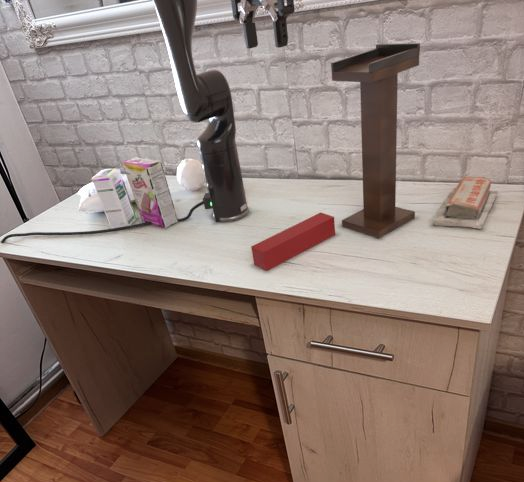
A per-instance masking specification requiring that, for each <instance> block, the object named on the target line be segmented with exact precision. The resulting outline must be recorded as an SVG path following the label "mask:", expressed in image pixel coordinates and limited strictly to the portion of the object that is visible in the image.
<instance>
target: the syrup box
mask: <svg viewBox="0 0 524 482" xmlns="http://www.w3.org/2000/svg"><path fill="white" fill-rule="evenodd" d="M122 175H123V174H122V172H121V169H120V168H119V167H118V168H117V167H112V168H104V169H101V170H99V172H97V173H96V174H95V175H94V176H92V177H91V178H90V179H91V181H92V182H93V184H94V187H95V189H96V192H97V194H98V197H99V199H100V202H101V204H102V207H103V209H104V214H105V216H106V219H107V221H108V224H109V227H110V229H113V228H119V227H125V226H130V225H133V223H134V222H135V221H136V220H137V219H138V218H137V214H136V212H135V211H136V210H135V209H134V206H133V203H131V200H130V197H129V195H128V192H127V189H126V186H125V183H124V181H123V178H122ZM92 182H91V183H92Z"/></svg>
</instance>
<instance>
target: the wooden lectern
mask: <svg viewBox="0 0 524 482" xmlns="http://www.w3.org/2000/svg"><path fill="white" fill-rule="evenodd" d="M420 51H421V43H420V42H410V43H408V42H407V43H406V42H405V43H377V44H375V48H373V49H369V50H365V51H363V52H361V53H357V54H353V55H351V56H348V57H345V58H342V59H339V60H336V61H333V62H330V67H331V68H330V71H331V81H332V82H346V83H347V82H349V83H359V84H360V85H359V87H360V89H359V90H360V93H359V94H360V127H361V128H360V129H361V132H360V133H361V165H362V166H361V171H362V202H363V203H362V205H363V208H362V209H361V210H359V211H356V212H355V213H353V214H351V215H348V216H347V217H345V218H343V219H341V227H342V228H345V229H349V230H352V231H354V232H357V233H360V234H363V235H366V236H369V237H372V238H375V239H378V240H379V239H381V238H382V237H384V236H386V235H388V234H389V233H391V232H393V231H395V230H397V229H398V228H400V227H402V226H404V225H405V224H407V223H409V222H411V221H413V220H415V216H416V212H415V211H413V210H410V209H406V208H402V207H398V206H396V202H397V201H396V195H397V140H398V137H397V136H398V85H399V84H398V79H399V74H400V73H402V72H405V71H408V70H411V69H413V68H416V67H418V66H420V55H421V54H420V53H421V52H420Z"/></svg>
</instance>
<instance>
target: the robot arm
mask: <svg viewBox="0 0 524 482" xmlns="http://www.w3.org/2000/svg"><path fill="white" fill-rule="evenodd" d="M151 1H152V4H153V8H154V9H155V13H156V16H157V19H158V21H159V22H158V23H159V26H160V29H161V32H162V35H163V40H164V43H165V45H166V49H167V54H168V58H169V62H170V67H171V70H172V76H173V80H174V85H175V89H176V90H175V91H176V94H177V98H178V100H179V104H180V107H181V110H182V112H183V113H184V115H185V117H186V118H187V119H188V120H189V121H190V122H191V123H194V124H197V123H201V122H204V121H207V120H208V123H207V126H206V127H205V129H204V131H202V132H201V134H199V136H198V137H197V139H196V145H197V150H198V153H199V158H200V162H201V163H202V167H203V171H204V175H205V186H206V191H207V192H205V193H204V195H203V197H202V201H200V202H198V203H196V204H195V205H193V207H192V208H190V210H189V212H188V214H187V215H186V216H184V217H182V218H177V219H178V222H177V223H180V222H185V221H187V220H189V219H190V218H191V216H192V214H193V213H194V211H195V210H196V209H198V208H199V207H201V206H204V210H211V212H212V215H213V219H214V221H215V223H227V222H235V221H237V220H238V221H239V220H240V219H242V218H245V217H246V216H247V215H248V214H249V212H250V211H249V206H248V202H247V201H248V200H247V197H246V190H245V185H244V180H243V175H242V169H241V163H240V159H239V152H238V148H237V147H238V146H237V142H236V141H237V140H236V135H237V133H236V132H237V126H236V119H235V112H234V111H235V110H234V104H233V97H232V92H231V88H230V85H229V81H228V79H227V78H226V77H225V75H224V73H222V72H221V71H220V70H217V69H210V70H207V71H203V72H200V73H197V72H196V71H197V70H196V68H195V63H194V57H193V48H192V45H193V35H194V29H195V23H196V17H197V10H198V0H151ZM285 2H286V4H285ZM230 3H231V12H232V18H233V21H236V22H237V21H239V24H240V25H242V29H243V30H242V31H243V35H244V42H245V46H246V48H247V49H254V48H257V47H258V46H259V40H258V35H257V34H258V33H257V27H256V26H257V25H256V22H255V17H256V13H257V10H258V9H259V8H260V7H263V9H264V10H265V11H268V14H269V15H270V17H271V19H272V21H273V22H272V28H273V37H274V44H275V47H276V48H283V47H287V46H288V43H289V33H288V23H287V19H288V17H289V16H290V15H291V14H294V13H295V10H296V9H295V1H294V0H230ZM238 5H239V6H238ZM239 8H240V10H239ZM148 225H149V226H150V225H153V224H152V222H150V221H149V222H144V221H143V222H141V223H136V224H131V225H130V226H125V227H119V228H107V229H98V230H87V231H86V230H85V231H53V232H52V231H51V232H49V231H47V232H45V231H44V232H43V231H32V232H23V233H22V232H21V233H10V234H7V235H6V236H4V237H3V238H2V239H1V241H0V242H1V244H4V243H5V242H6V241H7V240H9V238H14V237H15V238H16V237H30V236H82V235H95V234H106V233H111V232H119V231H124V230H129V229H134V228H135V229H136V228H140V227H144V226H148Z"/></svg>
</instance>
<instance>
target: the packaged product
mask: <svg viewBox="0 0 524 482" xmlns="http://www.w3.org/2000/svg"><path fill="white" fill-rule="evenodd" d="M491 186H492V180H491V179H490V178H487V177H485V176H482V177H481V176H463V177H461V180H460V181H459V182H458V184H457V185H456V187H453V188H451V190H450V193H449V194H448V196H447V197H446V199H445V200H444V202H443V204H442V205H441V206H440V208H439V210H438V211H437V213H436V214H435V216H434V218H433V225H434V226H442V227H443V226H446V227H464V228H474V229H478V230H481V229H482V227H483V225H484V223H485V222H486V219H487V217H488V214H489V212H490V211H491V210H492V208H493V203H494V202H495V200H496V197H497V194H498V193H499V191H498V190H490V189H491Z"/></svg>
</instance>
